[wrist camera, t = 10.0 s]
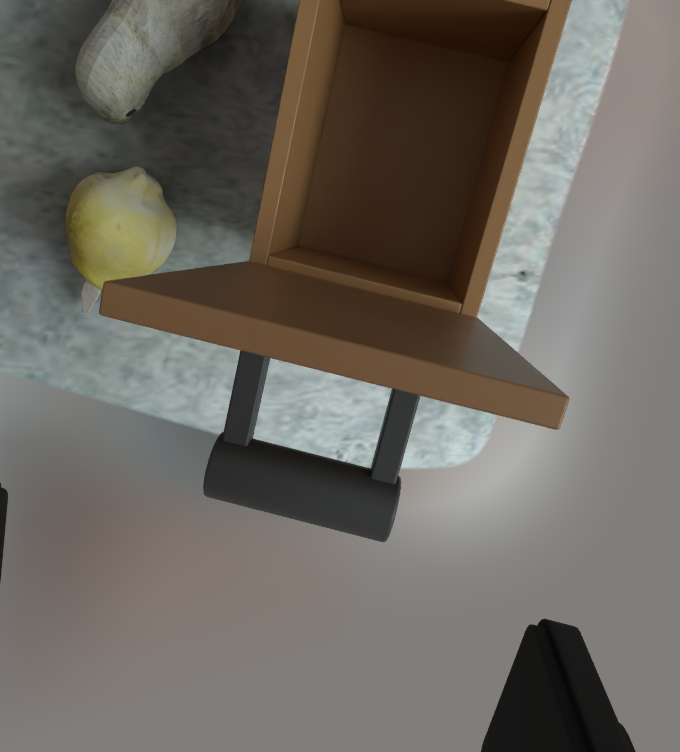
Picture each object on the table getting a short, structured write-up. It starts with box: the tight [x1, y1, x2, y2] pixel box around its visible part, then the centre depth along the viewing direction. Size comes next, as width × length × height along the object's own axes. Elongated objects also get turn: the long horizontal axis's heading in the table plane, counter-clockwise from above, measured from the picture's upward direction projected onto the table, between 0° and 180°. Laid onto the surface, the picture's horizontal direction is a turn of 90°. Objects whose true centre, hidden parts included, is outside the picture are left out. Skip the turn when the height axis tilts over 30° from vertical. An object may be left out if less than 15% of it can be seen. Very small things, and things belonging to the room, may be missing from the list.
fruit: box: [65, 166, 177, 313], centre depth 36 cm, size 6×6×10 cm
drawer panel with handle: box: [99, 261, 569, 542], centre depth 21 cm, size 14×11×5 cm
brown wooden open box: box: [249, 0, 572, 318], centre depth 31 cm, size 14×11×10 cm
